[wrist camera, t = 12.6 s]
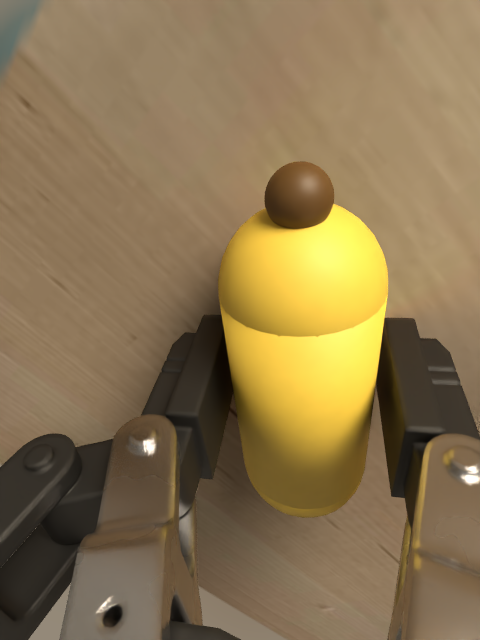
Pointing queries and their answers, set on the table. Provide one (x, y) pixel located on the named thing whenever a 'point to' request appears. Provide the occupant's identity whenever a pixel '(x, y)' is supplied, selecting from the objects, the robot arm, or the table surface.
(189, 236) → the table surface
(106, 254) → the table surface
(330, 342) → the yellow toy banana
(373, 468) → the table surface
